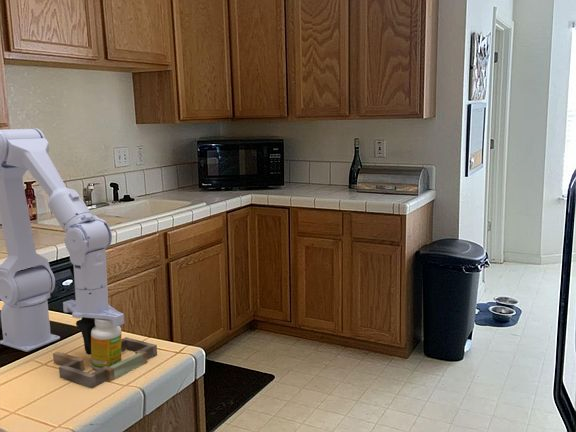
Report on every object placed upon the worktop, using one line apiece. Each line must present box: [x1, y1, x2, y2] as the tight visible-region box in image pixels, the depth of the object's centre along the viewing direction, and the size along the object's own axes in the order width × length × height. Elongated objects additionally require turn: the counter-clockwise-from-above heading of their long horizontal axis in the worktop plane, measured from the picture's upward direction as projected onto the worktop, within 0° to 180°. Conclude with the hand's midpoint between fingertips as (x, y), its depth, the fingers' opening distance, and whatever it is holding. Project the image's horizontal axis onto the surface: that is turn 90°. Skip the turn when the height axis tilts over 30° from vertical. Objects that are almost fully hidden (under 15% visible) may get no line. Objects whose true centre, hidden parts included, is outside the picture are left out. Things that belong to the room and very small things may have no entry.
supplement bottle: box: [90, 318, 122, 371], centre depth 104 cm, size 5×5×10 cm
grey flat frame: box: [52, 336, 158, 389], centre depth 105 cm, size 16×16×2 cm
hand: (95, 353), depth 106 cm, fingers closed, pressing on supplement bottle
